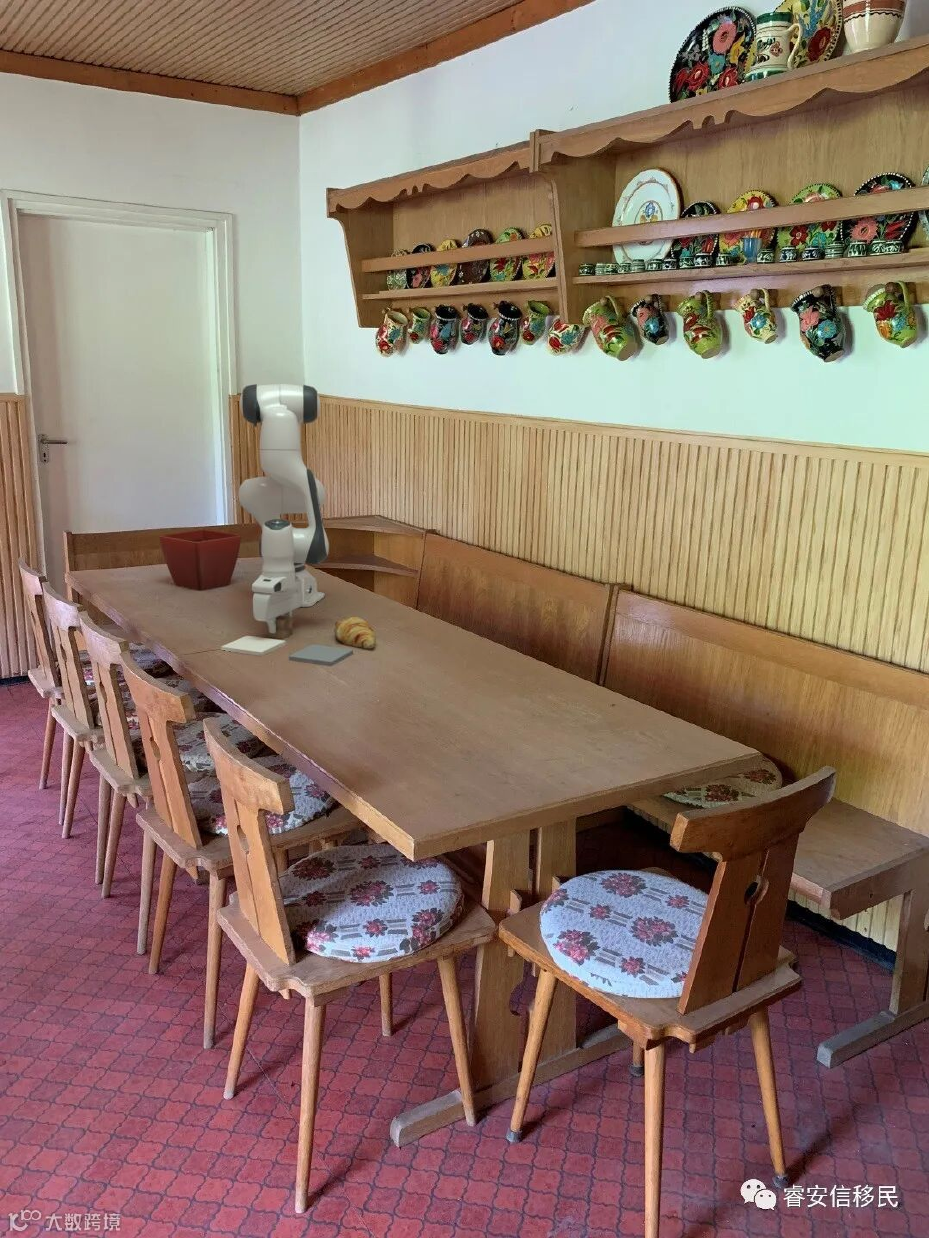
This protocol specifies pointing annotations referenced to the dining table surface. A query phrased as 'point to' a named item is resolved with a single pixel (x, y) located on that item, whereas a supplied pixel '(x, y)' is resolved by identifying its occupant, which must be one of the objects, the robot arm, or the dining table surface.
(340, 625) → the croissant
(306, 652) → the pad
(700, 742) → the dining table surface
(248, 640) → the pad
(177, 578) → the plant pot
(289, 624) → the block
